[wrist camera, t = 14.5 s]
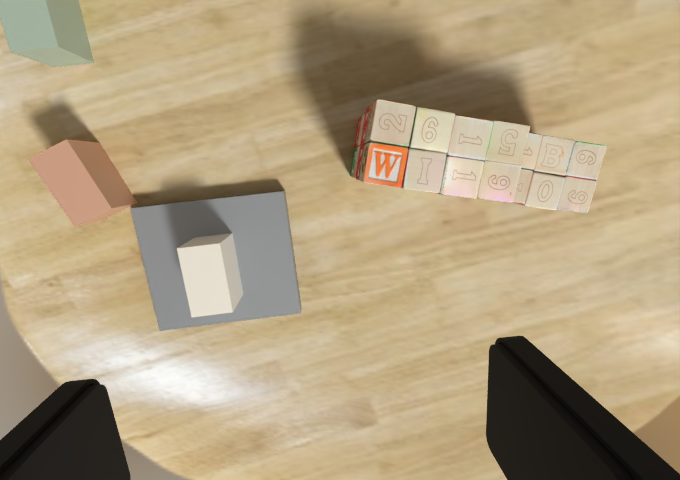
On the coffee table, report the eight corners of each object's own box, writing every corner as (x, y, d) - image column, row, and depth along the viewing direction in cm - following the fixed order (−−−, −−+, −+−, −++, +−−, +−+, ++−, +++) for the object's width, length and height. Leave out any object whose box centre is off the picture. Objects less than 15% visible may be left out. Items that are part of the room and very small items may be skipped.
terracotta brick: (66, 159, 36) (28, 159, 31) (100, 142, 36) (66, 139, 31) (106, 219, 38) (74, 227, 33) (138, 202, 38) (111, 208, 33)
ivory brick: (195, 237, 37) (176, 248, 32) (232, 233, 37) (219, 243, 32) (207, 298, 39) (191, 317, 34) (243, 293, 39) (232, 312, 34)
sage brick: (31, -12, 33) (-19, -43, 28) (74, -17, 33) (32, -48, 28) (53, 67, 34) (10, 51, 29) (94, 63, 34) (58, 46, 30)
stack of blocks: (542, 150, 39) (641, 144, 27) (527, 204, 41) (616, 221, 29) (357, 118, 37) (376, 96, 25) (348, 177, 38) (362, 182, 26)
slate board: (137, 206, 38) (130, 208, 36) (284, 190, 38) (283, 191, 37) (165, 324, 41) (159, 331, 39) (301, 307, 41) (300, 313, 40)
